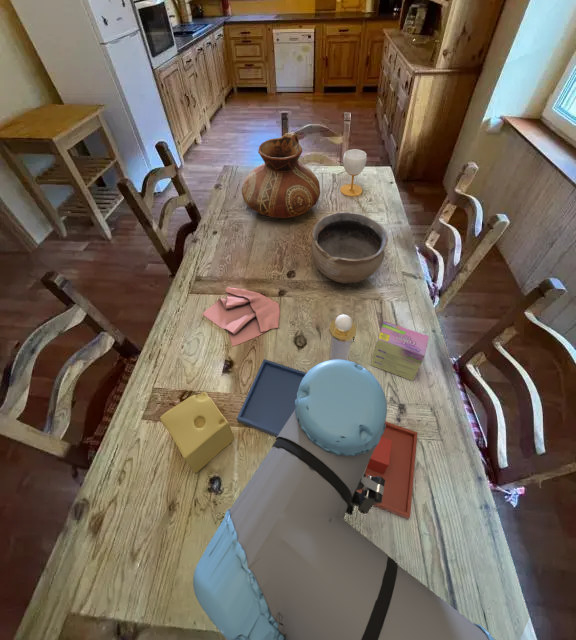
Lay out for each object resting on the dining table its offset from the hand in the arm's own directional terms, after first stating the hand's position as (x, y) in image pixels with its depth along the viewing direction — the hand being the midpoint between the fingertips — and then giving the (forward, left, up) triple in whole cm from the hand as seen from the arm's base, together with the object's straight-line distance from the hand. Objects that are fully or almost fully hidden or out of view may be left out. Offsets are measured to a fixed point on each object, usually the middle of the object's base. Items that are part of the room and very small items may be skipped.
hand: (325, 497), depth 54 cm
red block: (+12, -7, -13) cm, 19 cm away
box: (+35, -8, -13) cm, 38 cm away
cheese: (+4, +28, -13) cm, 31 cm away
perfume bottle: (+30, +5, -13) cm, 33 cm away
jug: (+90, +43, -13) cm, 101 cm away
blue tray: (+17, +15, -13) cm, 26 cm away
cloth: (+37, +35, -13) cm, 52 cm away
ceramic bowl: (+63, +11, -13) cm, 65 cm away
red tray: (+12, -7, -13) cm, 19 cm away
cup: (+108, +19, -13) cm, 110 cm away
